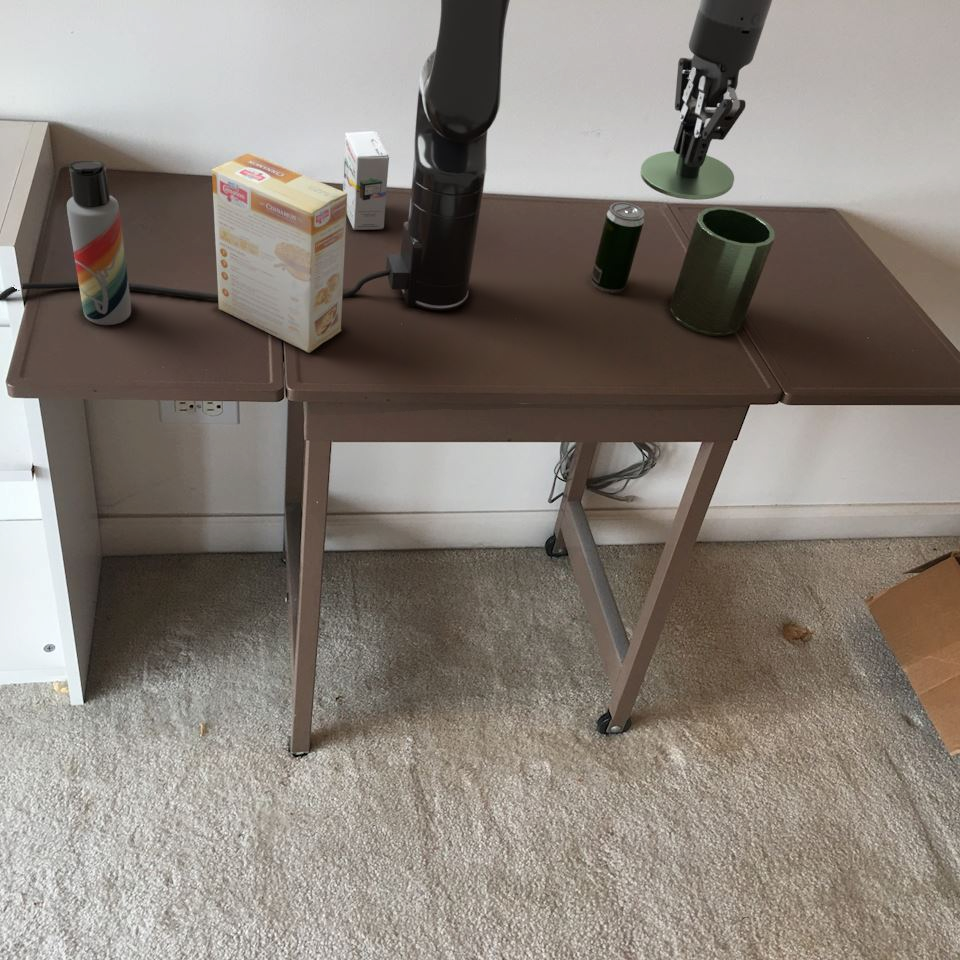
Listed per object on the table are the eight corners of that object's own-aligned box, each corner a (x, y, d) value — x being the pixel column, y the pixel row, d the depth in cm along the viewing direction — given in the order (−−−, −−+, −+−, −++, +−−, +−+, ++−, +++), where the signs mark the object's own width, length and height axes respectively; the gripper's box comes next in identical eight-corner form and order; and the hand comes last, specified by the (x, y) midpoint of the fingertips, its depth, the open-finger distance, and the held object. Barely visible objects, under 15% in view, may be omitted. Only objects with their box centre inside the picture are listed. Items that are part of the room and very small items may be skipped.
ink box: (340, 203, 152) (344, 129, 144) (371, 202, 154) (376, 130, 146) (352, 230, 146) (356, 156, 138) (384, 229, 148) (390, 155, 140)
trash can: (701, 342, 137) (733, 251, 127) (655, 302, 143) (682, 212, 134) (755, 328, 142) (790, 239, 132) (708, 290, 148) (738, 202, 138)
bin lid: (679, 213, 117) (689, 161, 112) (621, 172, 124) (628, 121, 119) (751, 190, 122) (764, 139, 117) (691, 152, 129) (700, 103, 124)
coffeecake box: (342, 330, 127) (350, 192, 114) (308, 355, 122) (312, 213, 109) (253, 287, 132) (249, 149, 118) (216, 309, 127) (209, 168, 114)
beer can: (605, 297, 142) (624, 222, 134) (583, 278, 146) (600, 204, 137) (632, 290, 145) (653, 216, 137) (610, 271, 148) (629, 199, 140)
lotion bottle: (83, 327, 120) (58, 174, 107) (84, 301, 124) (60, 151, 111) (132, 325, 122) (113, 175, 108) (131, 300, 126) (113, 152, 112)
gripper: (677, -11, 113) (638, 133, 124) (731, 34, 103) (683, 186, 115) (733, -7, 115) (690, 135, 127) (791, 38, 105) (739, 186, 117)
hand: (687, 158), depth 121 cm, fingers closed on bin lid, 3 cm apart
